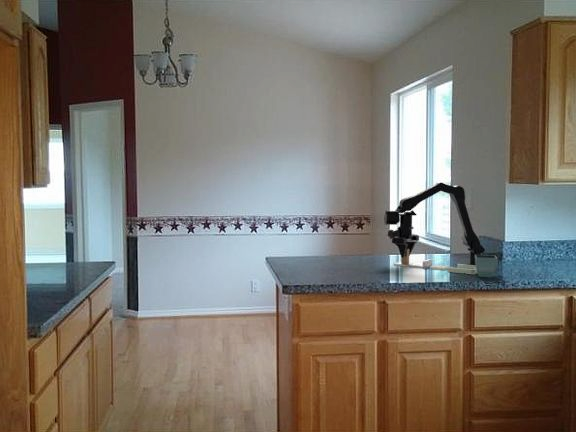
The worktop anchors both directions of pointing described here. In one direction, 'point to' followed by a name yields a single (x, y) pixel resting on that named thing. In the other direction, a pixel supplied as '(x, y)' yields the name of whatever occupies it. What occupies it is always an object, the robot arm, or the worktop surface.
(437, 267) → the tile
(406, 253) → the metal bookend
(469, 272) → the corral
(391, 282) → the worktop surface
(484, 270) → the flower pot
